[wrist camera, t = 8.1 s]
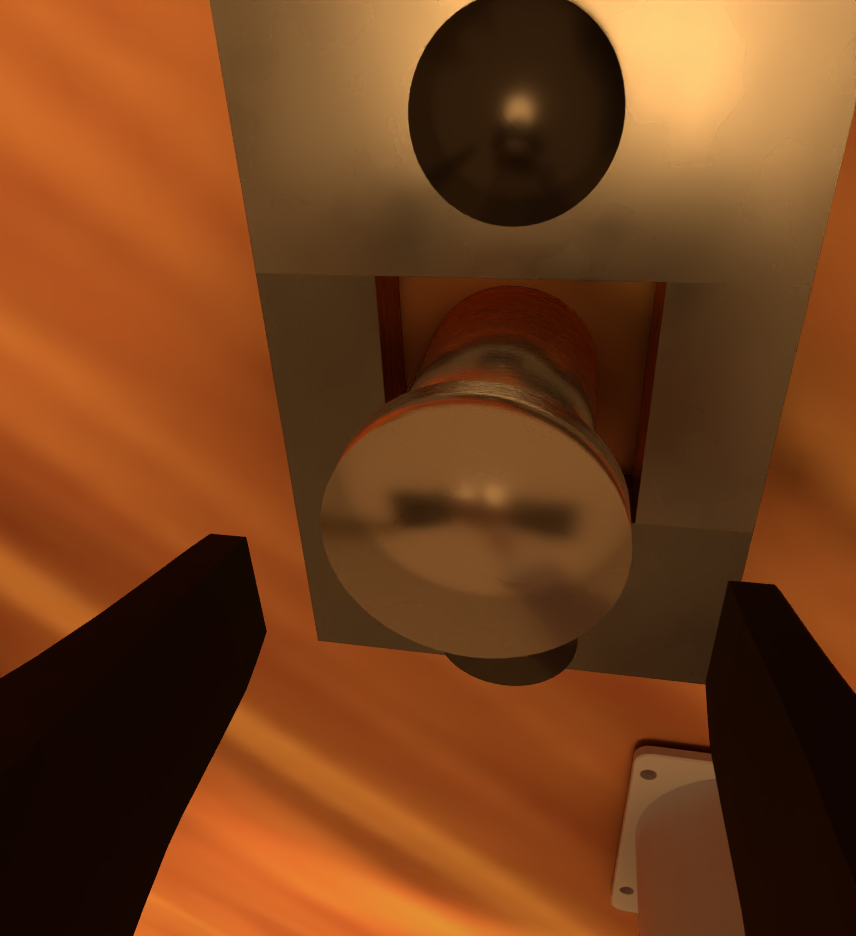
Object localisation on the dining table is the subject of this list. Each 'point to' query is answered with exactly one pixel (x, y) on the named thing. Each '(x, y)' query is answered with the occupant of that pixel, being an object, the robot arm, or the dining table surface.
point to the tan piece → (548, 243)
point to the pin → (486, 488)
